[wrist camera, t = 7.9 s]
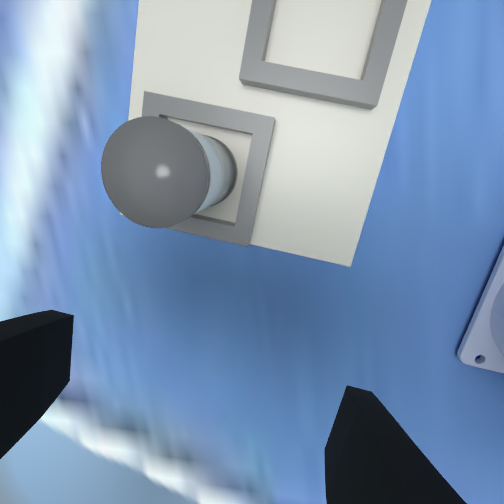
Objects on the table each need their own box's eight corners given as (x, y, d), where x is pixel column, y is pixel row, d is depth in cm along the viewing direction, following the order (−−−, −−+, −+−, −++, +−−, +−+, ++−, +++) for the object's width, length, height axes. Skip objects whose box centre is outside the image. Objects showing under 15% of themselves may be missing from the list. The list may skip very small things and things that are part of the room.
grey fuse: (243, 143, 15) (214, 128, 9) (230, 212, 16) (196, 238, 10) (175, 129, 15) (105, 105, 9) (166, 198, 16) (97, 215, 10)
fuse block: (432, -30, 14) (458, -66, 11) (346, 260, 17) (354, 273, 15) (159, -76, 14) (136, -118, 12) (131, 211, 18) (109, 217, 16)
